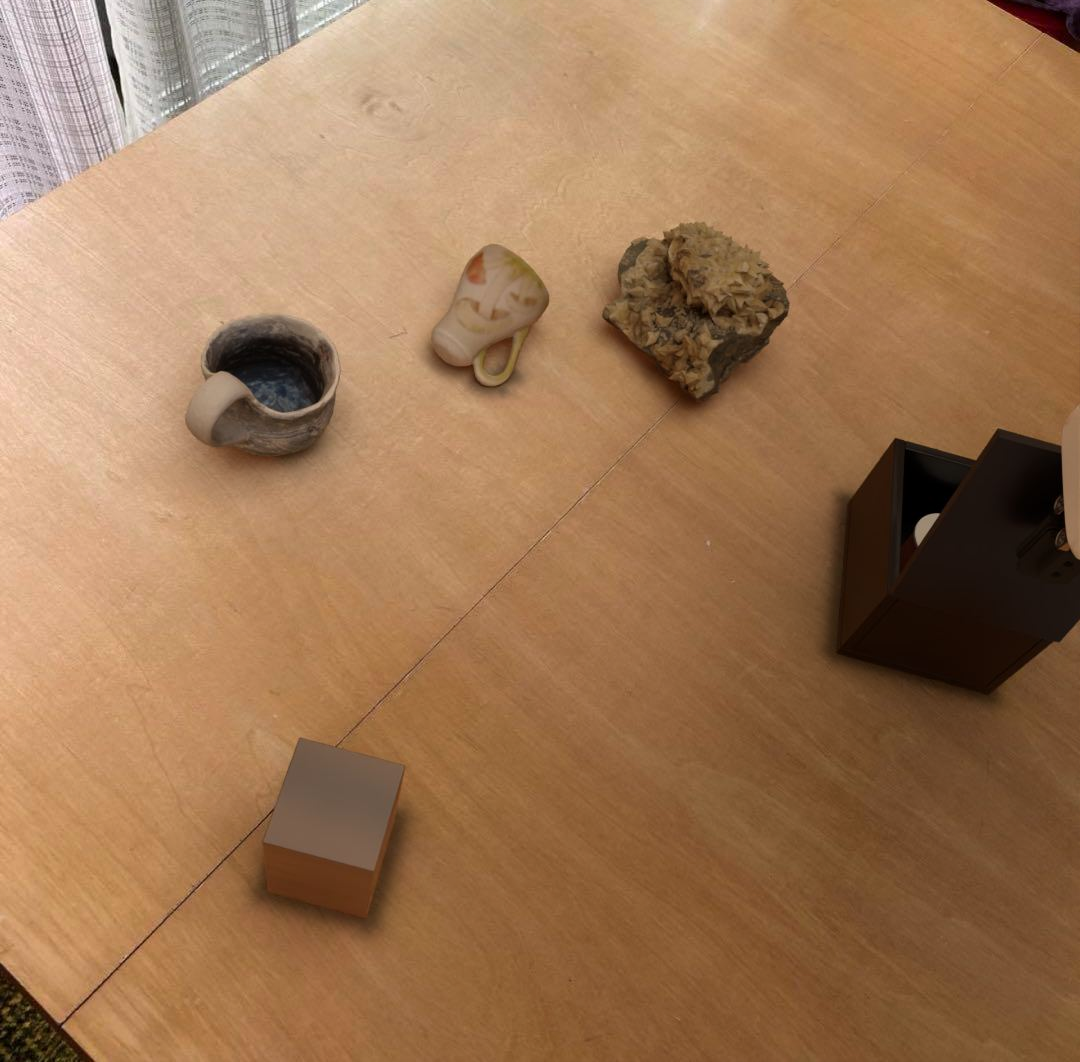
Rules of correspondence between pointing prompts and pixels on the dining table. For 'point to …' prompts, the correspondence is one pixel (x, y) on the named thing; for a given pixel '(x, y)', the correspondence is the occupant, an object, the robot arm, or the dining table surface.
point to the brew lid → (995, 543)
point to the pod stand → (331, 827)
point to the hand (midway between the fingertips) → (1039, 567)
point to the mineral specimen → (696, 305)
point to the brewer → (873, 565)
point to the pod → (916, 538)
